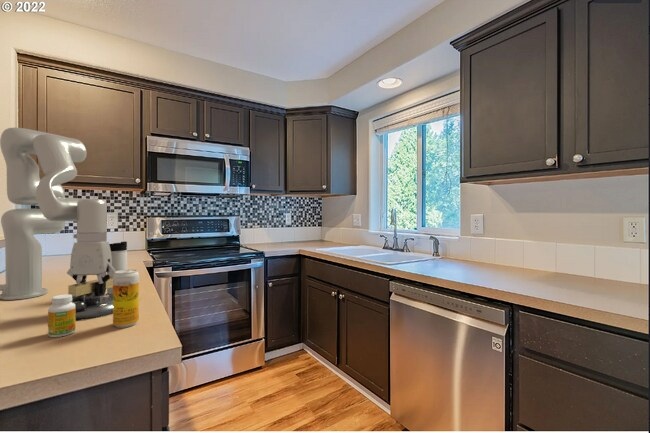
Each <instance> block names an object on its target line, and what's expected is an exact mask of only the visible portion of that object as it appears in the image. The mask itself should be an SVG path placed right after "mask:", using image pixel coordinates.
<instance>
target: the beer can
mask: <svg viewBox="0 0 650 433" xmlns="http://www.w3.org/2000/svg"><path fill="white" fill-rule="evenodd" d="M139 300H140V274H139V272H138V270H137V269H130V268H129V269H127V270H120V271H116V272H115V274H114V276H113V314H112V324H113V325H114V327H116V328H118V329H119V328H123V329H125V328H129V327H133V326H135V325H136V324H137V323H138V321H139V320H140V315H139V314H140V311H139V310H140V304H139Z"/></svg>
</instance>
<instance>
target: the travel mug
mask: <svg viewBox="0 0 650 433" xmlns="http://www.w3.org/2000/svg"><path fill="white" fill-rule="evenodd" d="M109 245H110V250H111V257H112V266H113V267H114V268H115V270H116V271H120V270H128V242H127V241H121V242H114V243H109ZM108 273H109V272H106V274H108ZM113 276H114V275H113ZM106 295H109V296H113V287H112V288H108V289H106Z"/></svg>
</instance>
